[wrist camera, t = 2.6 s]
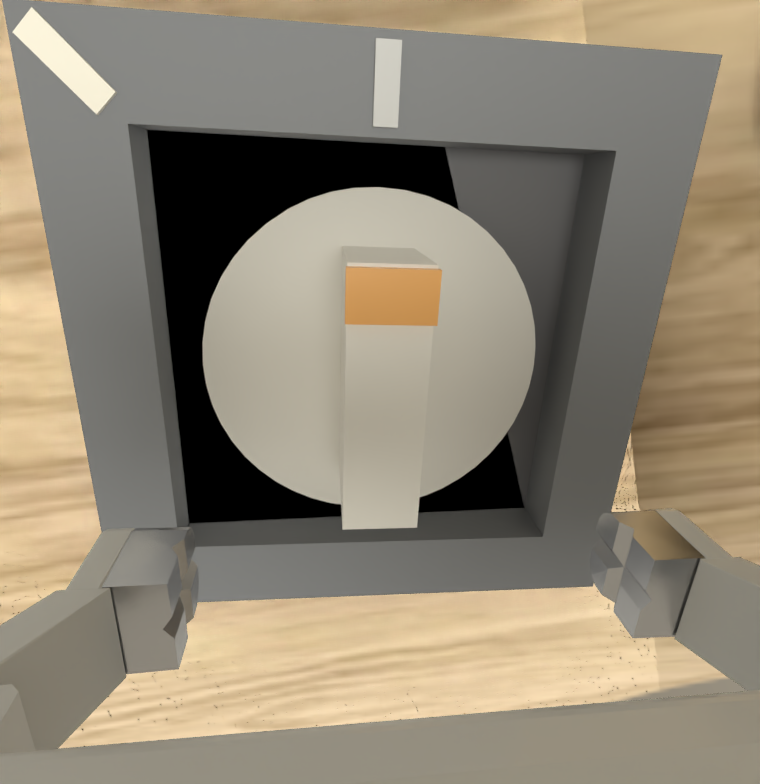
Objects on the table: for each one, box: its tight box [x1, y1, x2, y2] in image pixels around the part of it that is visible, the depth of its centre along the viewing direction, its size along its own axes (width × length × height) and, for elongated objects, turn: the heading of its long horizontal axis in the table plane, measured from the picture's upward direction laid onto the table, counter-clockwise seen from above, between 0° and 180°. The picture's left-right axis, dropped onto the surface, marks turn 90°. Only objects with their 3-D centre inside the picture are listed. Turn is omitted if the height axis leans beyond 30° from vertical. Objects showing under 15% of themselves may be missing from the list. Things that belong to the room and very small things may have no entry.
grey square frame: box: [2, 0, 722, 602], centre depth 21 cm, size 22×22×3 cm
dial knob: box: [202, 187, 536, 530], centre depth 19 cm, size 13×13×6 cm
